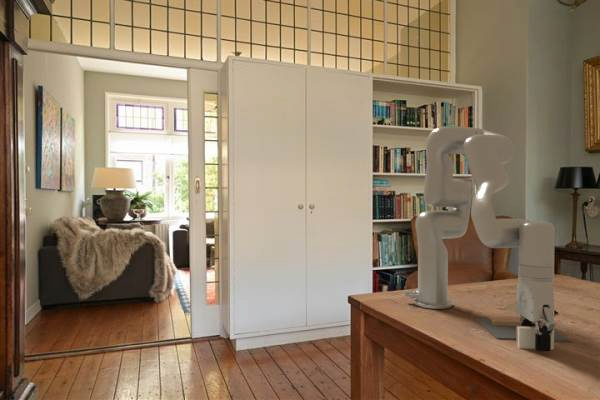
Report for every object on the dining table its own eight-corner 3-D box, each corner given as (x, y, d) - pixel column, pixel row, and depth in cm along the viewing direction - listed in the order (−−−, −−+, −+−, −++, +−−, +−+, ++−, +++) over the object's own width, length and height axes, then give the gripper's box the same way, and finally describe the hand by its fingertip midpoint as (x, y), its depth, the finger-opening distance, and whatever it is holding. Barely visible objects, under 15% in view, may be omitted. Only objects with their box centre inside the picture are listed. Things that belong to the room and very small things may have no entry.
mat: (497, 339, 105) (497, 332, 105) (476, 319, 121) (476, 314, 121) (570, 341, 103) (570, 335, 103) (539, 321, 119) (539, 316, 119)
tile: (519, 348, 99) (519, 328, 99) (516, 346, 101) (516, 325, 101) (553, 349, 98) (554, 329, 98) (550, 347, 100) (550, 327, 100)
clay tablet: (533, 306, 138) (533, 298, 138) (562, 314, 129) (562, 305, 129) (501, 310, 133) (501, 302, 133) (528, 319, 124) (528, 310, 124)
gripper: (505, 265, 108) (504, 332, 108) (537, 279, 91) (536, 358, 91) (534, 266, 107) (534, 333, 108) (572, 280, 90) (571, 360, 90)
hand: (534, 344), depth 99 cm, fingers open, 6 cm apart
